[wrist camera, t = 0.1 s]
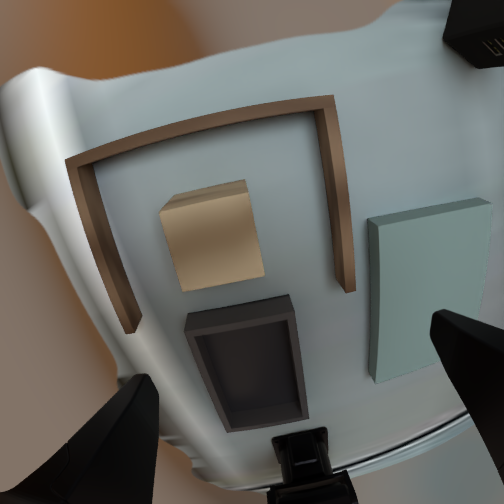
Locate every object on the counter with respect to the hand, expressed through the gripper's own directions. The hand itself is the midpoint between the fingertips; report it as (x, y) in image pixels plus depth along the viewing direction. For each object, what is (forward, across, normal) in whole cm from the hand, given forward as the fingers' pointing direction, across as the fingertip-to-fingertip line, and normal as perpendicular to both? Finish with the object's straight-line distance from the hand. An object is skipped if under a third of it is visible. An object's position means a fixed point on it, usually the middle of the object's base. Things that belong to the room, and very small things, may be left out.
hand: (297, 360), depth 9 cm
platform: (+14, -14, +9) cm, 22 cm away
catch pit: (+14, +3, +13) cm, 20 cm away
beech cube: (+15, +3, -1) cm, 15 cm away
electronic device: (+15, -22, -16) cm, 31 cm away
